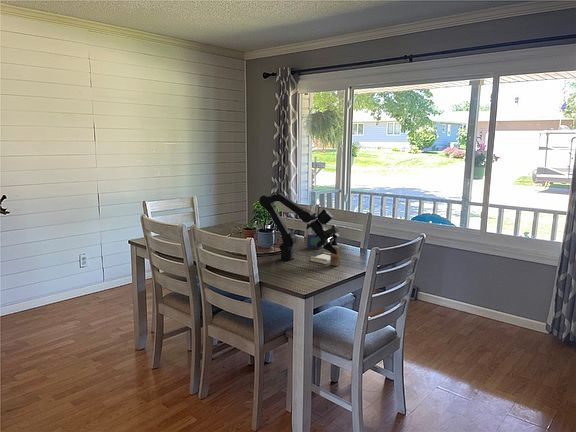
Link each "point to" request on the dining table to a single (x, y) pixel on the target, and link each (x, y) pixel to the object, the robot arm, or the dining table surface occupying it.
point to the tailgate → (322, 258)
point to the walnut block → (335, 256)
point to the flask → (312, 241)
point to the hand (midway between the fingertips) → (338, 252)
